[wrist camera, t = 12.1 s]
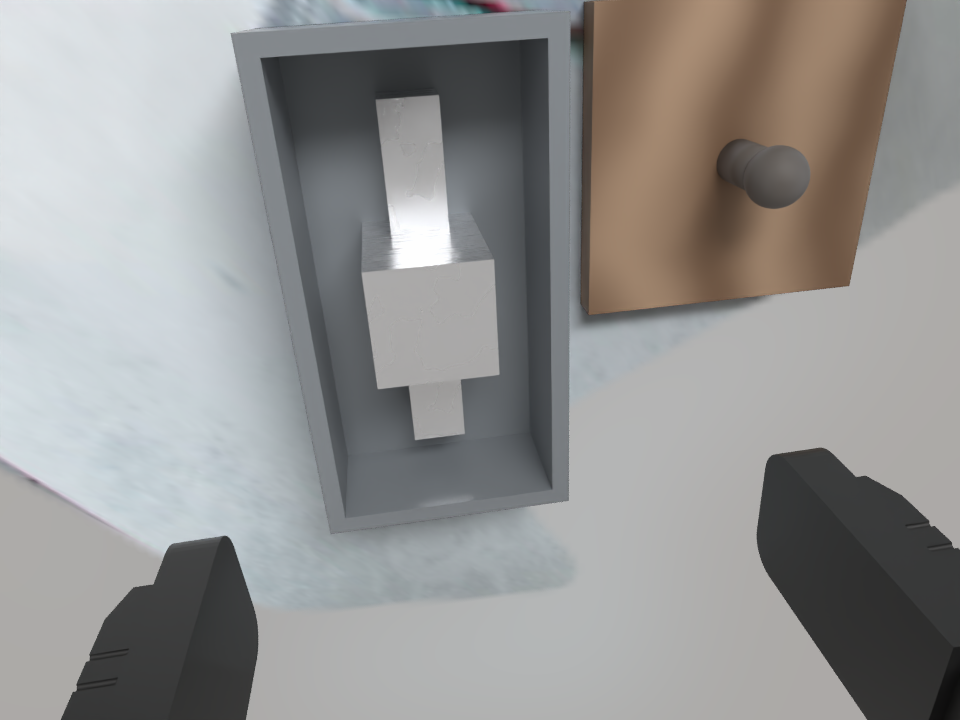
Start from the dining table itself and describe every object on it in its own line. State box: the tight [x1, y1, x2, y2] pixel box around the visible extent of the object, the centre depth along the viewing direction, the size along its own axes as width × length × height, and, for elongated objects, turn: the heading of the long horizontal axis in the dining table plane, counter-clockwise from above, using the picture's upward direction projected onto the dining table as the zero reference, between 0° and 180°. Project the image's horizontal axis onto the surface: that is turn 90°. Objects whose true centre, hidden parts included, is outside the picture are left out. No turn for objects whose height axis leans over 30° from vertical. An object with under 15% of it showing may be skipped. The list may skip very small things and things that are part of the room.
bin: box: [231, 10, 570, 534], centre depth 31 cm, size 22×12×6 cm, turn 3°
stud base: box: [581, 0, 907, 315], centre depth 31 cm, size 14×14×6 cm
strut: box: [361, 88, 499, 440], centre depth 30 cm, size 16×5×7 cm, turn 3°
